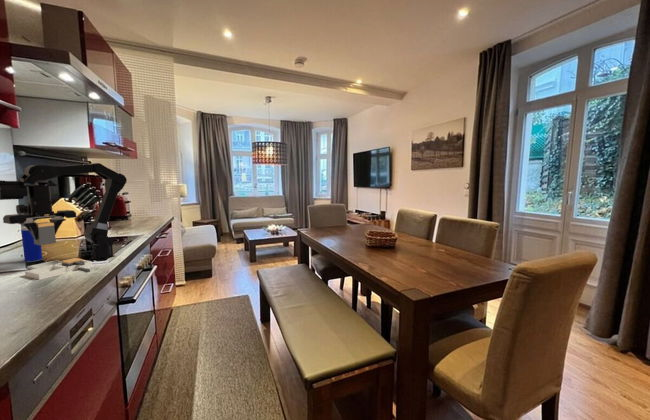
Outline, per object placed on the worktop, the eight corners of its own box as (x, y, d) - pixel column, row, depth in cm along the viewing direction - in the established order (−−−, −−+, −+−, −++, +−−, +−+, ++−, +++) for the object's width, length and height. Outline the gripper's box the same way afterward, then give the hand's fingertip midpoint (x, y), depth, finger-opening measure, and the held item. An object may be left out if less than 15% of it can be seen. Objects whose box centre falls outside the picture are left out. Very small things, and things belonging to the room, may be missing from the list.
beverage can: (46, 259, 117) (42, 225, 115) (32, 263, 112) (27, 228, 110) (35, 258, 118) (31, 225, 116) (21, 262, 113) (16, 227, 111)
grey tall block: (49, 241, 106) (47, 221, 105) (56, 242, 105) (53, 222, 104) (34, 244, 102) (31, 223, 101) (40, 245, 101) (38, 224, 100)
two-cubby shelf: (78, 263, 112) (78, 258, 112) (92, 266, 109) (91, 261, 109) (25, 276, 97) (24, 271, 97) (39, 280, 94) (38, 274, 94)
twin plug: (76, 266, 109) (75, 257, 109) (95, 270, 105) (94, 261, 105) (62, 269, 105) (61, 260, 105) (81, 273, 101) (80, 264, 101)
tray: (57, 262, 113) (56, 259, 113) (69, 265, 110) (69, 262, 110) (27, 269, 105) (27, 266, 105) (40, 272, 102) (40, 269, 102)
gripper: (60, 196, 113) (64, 232, 115) (-7, 199, 96) (-2, 241, 98) (75, 197, 109) (78, 234, 111) (8, 200, 92) (13, 244, 94)
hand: (44, 238), depth 103 cm, fingers closed on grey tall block, 4 cm apart
